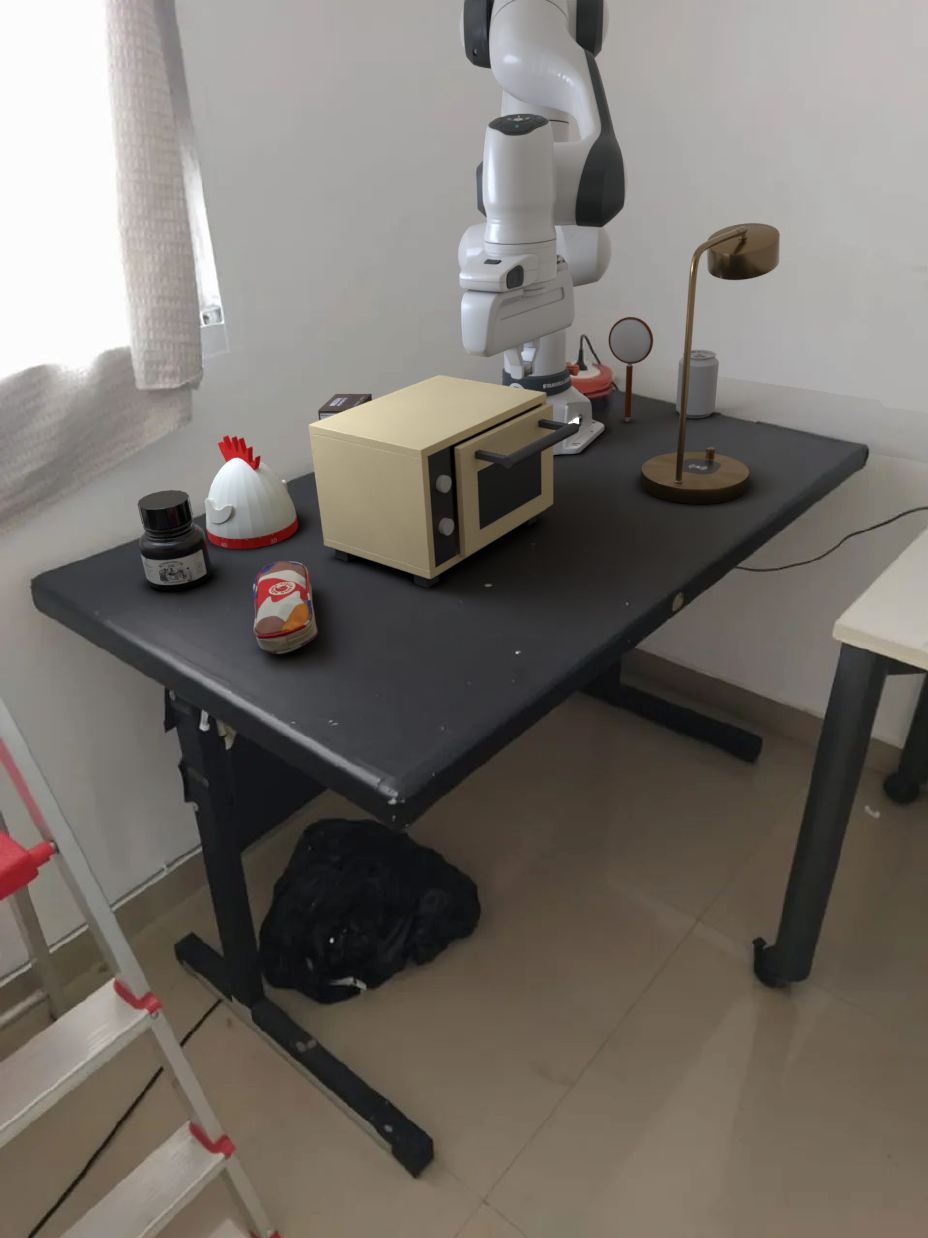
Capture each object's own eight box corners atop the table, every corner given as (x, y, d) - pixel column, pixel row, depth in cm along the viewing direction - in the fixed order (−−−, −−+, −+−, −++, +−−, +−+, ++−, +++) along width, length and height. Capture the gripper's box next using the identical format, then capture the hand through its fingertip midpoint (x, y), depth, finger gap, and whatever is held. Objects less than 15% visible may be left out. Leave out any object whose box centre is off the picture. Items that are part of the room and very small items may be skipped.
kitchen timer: (255, 505, 156) (240, 417, 148) (316, 522, 148) (303, 430, 141) (189, 536, 146) (169, 444, 139) (251, 556, 139) (233, 459, 131)
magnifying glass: (604, 420, 186) (607, 316, 176) (607, 418, 187) (611, 314, 177) (647, 425, 182) (652, 319, 172) (650, 422, 183) (655, 317, 173)
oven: (446, 494, 156) (438, 374, 146) (552, 521, 144) (551, 393, 135) (325, 557, 137) (308, 424, 127) (436, 594, 126) (426, 451, 116)
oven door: (547, 502, 143) (547, 403, 135) (588, 512, 139) (590, 410, 131) (460, 555, 128) (454, 447, 121) (502, 568, 124) (499, 456, 117)
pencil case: (224, 661, 113) (217, 625, 111) (262, 585, 130) (257, 553, 128) (314, 660, 113) (309, 624, 110) (341, 584, 130) (337, 551, 127)
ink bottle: (138, 595, 130) (118, 514, 124) (153, 566, 137) (135, 489, 131) (209, 590, 130) (192, 509, 124) (220, 562, 138) (205, 485, 132)
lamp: (783, 458, 163) (813, 222, 145) (723, 512, 144) (749, 249, 126) (690, 443, 172) (707, 218, 154) (622, 492, 153) (632, 243, 135)
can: (676, 419, 184) (680, 357, 178) (675, 407, 191) (679, 347, 185) (715, 419, 183) (720, 357, 177) (713, 407, 189) (718, 347, 184)
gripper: (546, 250, 125) (546, 355, 132) (449, 276, 111) (455, 392, 118) (587, 252, 121) (585, 360, 128) (493, 279, 107) (496, 399, 114)
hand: (522, 376), depth 123 cm, fingers closed
